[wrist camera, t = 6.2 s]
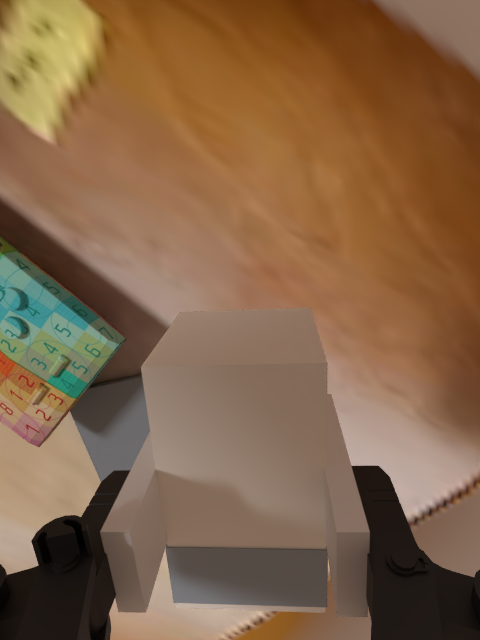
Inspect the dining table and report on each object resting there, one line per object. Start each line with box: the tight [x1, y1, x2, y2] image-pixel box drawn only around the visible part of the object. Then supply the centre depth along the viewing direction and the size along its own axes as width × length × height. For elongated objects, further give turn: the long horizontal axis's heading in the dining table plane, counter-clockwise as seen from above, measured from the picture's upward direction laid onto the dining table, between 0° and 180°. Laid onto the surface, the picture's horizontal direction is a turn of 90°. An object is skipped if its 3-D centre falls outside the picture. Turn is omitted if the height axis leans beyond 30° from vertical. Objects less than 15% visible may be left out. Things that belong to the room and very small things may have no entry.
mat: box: [70, 375, 150, 482], centre depth 37 cm, size 16×16×1 cm
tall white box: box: [141, 308, 328, 612], centre depth 15 cm, size 9×5×5 cm, turn 4°
